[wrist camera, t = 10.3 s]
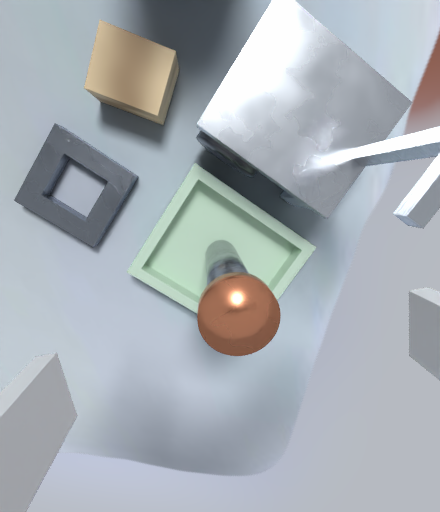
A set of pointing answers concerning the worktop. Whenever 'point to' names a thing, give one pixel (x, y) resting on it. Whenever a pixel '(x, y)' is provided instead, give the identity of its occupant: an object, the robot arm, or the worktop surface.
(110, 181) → the collar
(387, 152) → the trolley
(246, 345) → the pin
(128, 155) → the worktop surface
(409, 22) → the worktop surface
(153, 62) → the block
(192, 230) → the tray
